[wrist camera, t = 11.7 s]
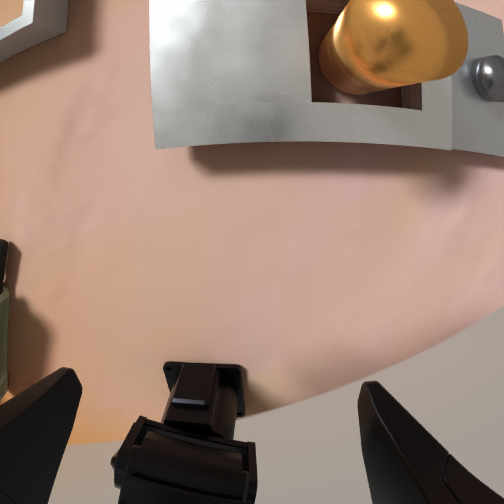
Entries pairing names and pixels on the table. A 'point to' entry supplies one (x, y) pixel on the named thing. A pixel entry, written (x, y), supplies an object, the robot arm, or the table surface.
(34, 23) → the grey rectangular frame
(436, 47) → the gold metallic cylinder
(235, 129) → the grey panel with knob
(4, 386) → the handheld radio
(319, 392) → the table surface
